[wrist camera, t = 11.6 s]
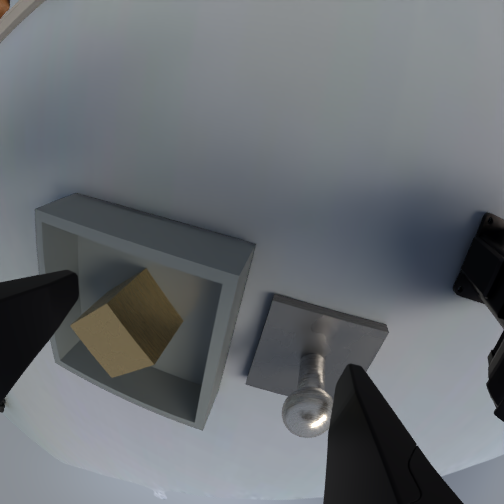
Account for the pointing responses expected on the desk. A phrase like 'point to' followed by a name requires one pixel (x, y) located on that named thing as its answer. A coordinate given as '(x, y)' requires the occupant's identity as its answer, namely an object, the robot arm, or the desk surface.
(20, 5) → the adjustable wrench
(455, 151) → the desk surface
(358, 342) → the metal ball pedestal
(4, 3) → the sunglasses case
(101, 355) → the wooden block
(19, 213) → the desk surface
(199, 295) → the bin
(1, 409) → the cable
